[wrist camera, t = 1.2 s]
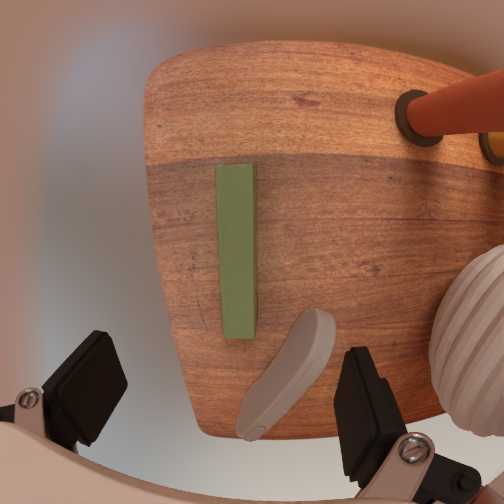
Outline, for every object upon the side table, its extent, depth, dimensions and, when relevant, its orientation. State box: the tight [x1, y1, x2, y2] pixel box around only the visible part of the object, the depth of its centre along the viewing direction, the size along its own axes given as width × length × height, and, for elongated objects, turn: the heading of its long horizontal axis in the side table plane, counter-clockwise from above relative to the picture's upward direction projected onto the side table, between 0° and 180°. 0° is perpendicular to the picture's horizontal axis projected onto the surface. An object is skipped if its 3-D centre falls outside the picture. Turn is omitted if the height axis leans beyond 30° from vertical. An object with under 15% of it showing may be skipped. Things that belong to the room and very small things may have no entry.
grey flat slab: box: [235, 307, 336, 442], centre depth 27 cm, size 20×2×8 cm, turn 155°
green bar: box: [215, 164, 258, 340], centre depth 25 cm, size 3×16×4 cm, turn 1°
